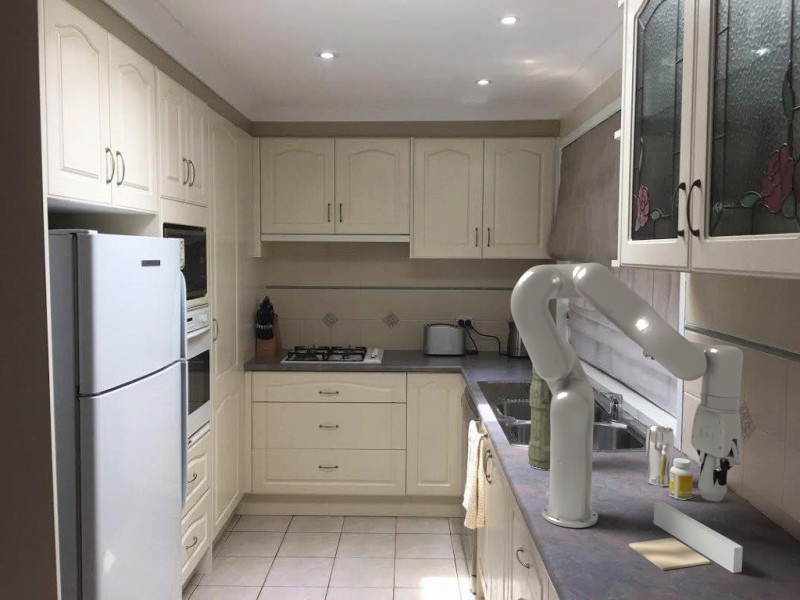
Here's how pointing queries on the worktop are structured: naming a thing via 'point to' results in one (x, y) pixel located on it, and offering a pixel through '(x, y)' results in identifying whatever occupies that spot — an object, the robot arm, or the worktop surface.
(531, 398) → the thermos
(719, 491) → the salt shaker
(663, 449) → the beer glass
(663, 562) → the coaster board
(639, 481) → the worktop surface
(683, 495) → the supplement bottle
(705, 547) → the acrylic wall
